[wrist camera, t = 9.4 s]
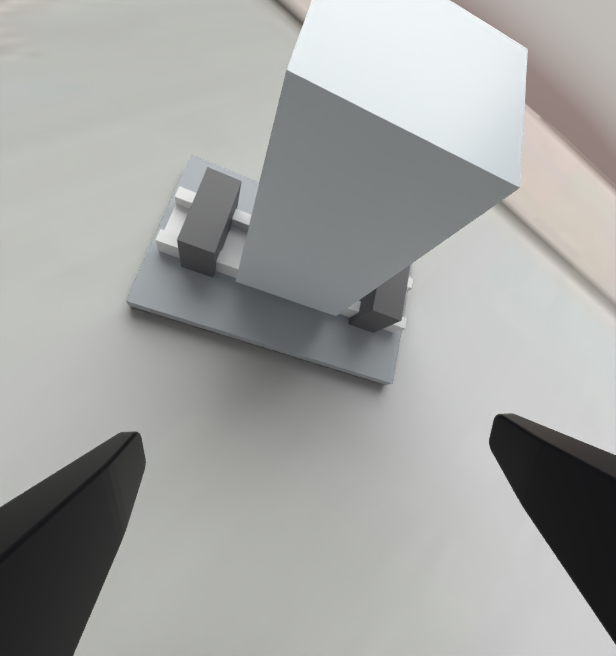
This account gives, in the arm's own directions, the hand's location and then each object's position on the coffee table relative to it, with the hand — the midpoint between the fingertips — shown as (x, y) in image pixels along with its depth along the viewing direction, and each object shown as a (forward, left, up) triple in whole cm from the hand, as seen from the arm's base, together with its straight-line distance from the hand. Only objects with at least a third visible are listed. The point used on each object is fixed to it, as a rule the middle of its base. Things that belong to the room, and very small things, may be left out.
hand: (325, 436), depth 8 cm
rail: (+9, +2, -11) cm, 14 cm away
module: (+9, +2, -9) cm, 13 cm away
